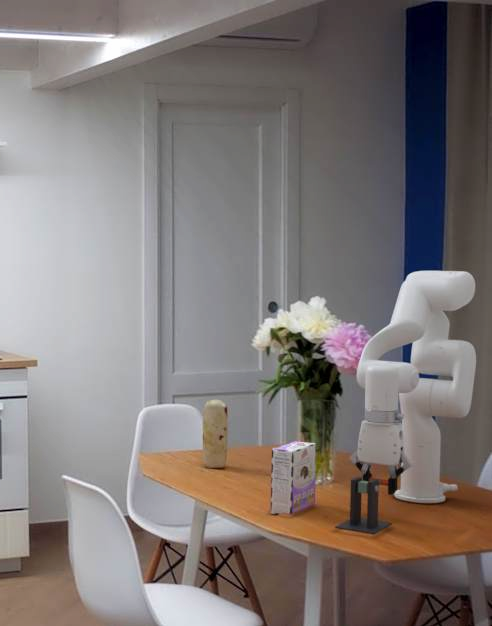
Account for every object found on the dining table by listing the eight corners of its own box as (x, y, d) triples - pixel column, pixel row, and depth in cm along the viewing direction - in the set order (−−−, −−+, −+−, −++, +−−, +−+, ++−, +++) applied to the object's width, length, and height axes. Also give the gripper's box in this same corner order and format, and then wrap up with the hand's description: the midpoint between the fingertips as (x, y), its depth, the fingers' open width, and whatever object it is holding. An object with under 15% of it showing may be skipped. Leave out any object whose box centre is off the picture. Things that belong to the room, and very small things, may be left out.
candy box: (293, 503, 272) (295, 440, 271) (315, 507, 268) (317, 442, 267) (269, 514, 261) (270, 447, 260) (291, 517, 258) (293, 450, 257)
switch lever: (370, 484, 256) (370, 475, 256) (391, 487, 253) (391, 477, 253) (351, 491, 247) (352, 481, 247) (373, 494, 244) (373, 484, 244)
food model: (232, 469, 316) (233, 402, 314) (213, 470, 313) (214, 403, 312) (215, 462, 325) (216, 397, 324) (196, 464, 322) (197, 398, 321)
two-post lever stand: (354, 521, 254) (355, 472, 254) (391, 527, 249) (393, 477, 248) (334, 531, 245) (336, 481, 244) (373, 538, 240) (374, 486, 239)
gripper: (422, 418, 251) (420, 494, 252) (352, 411, 262) (350, 484, 263) (412, 422, 245) (410, 500, 246) (340, 415, 256) (339, 489, 257)
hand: (379, 491), depth 255 cm, fingers closed on switch lever, 5 cm apart
